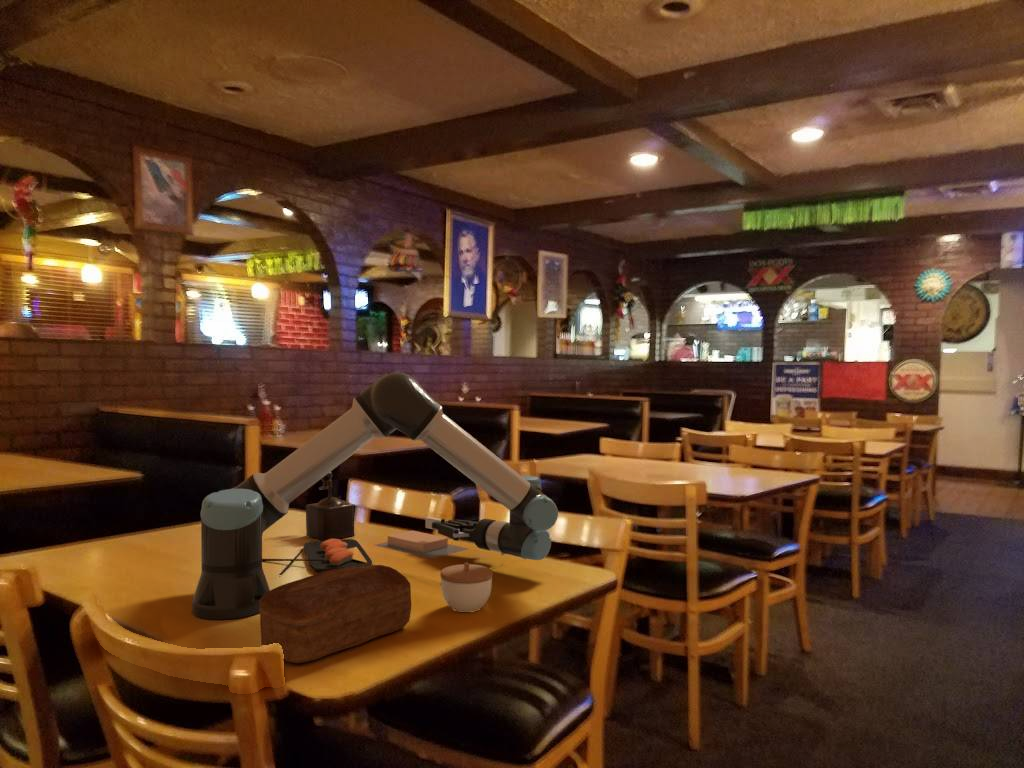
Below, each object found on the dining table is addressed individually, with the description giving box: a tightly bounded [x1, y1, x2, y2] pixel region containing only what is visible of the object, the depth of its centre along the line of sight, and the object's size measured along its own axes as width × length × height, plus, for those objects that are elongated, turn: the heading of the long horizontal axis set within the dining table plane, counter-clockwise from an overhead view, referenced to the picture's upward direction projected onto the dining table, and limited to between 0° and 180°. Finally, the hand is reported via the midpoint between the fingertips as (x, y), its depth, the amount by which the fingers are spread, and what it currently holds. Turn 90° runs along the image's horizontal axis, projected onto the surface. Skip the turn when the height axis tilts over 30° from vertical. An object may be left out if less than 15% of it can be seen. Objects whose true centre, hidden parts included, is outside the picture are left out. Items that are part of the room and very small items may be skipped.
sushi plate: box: [262, 538, 373, 576], centre depth 188 cm, size 29×30×4 cm
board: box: [375, 541, 469, 560], centre depth 200 cm, size 22×14×1 cm, turn 51°
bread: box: [259, 564, 412, 664], centre depth 134 cm, size 14×28×12 cm, turn 141°
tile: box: [387, 530, 449, 553], centre depth 200 cm, size 2×9×14 cm
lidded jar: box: [440, 562, 494, 612], centre depth 152 cm, size 11×11×9 cm
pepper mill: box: [305, 471, 355, 541], centre depth 217 cm, size 16×11×18 cm
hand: (427, 522), depth 198 cm, fingers closed
